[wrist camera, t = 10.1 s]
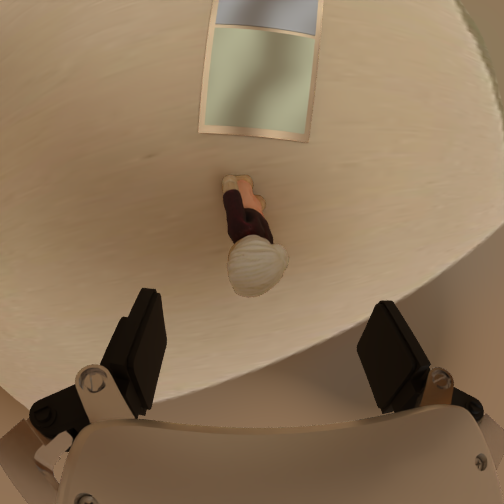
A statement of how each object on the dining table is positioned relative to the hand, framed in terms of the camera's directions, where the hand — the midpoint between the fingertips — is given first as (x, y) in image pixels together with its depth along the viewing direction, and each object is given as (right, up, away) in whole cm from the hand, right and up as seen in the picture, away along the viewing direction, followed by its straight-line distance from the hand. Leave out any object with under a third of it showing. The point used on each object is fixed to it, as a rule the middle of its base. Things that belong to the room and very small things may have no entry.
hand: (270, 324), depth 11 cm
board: (+1, +25, +4) cm, 25 cm away
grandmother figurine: (-1, +8, +13) cm, 15 cm away
